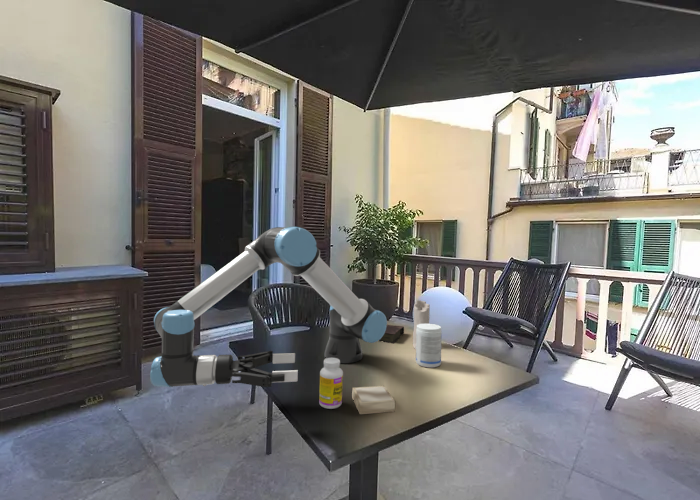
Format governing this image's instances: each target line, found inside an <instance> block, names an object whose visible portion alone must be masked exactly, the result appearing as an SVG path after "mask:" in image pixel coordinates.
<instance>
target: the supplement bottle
mask: <svg viewBox="0 0 700 500" xmlns="http://www.w3.org/2000/svg"><path fill="white" fill-rule="evenodd" d="M340 365H341V363H340V360H339V359H337V358H324V359H323V367H322V368H321V369H320V371H319V397H318V399H319V400H318V403H319V405H320V406H321V407H322V408H324V409H329V410H332V409H338V408H339V407H341V406H342V403H343V382H344V379H343V378H344V371H343V369H342V368H340Z"/></svg>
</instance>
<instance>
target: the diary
mask: <svg viewBox="0 0 700 500" xmlns="http://www.w3.org/2000/svg"><path fill="white" fill-rule="evenodd" d="M386 326H387V327H386V331H385V333H384V335H383V336H382V338H381V339H380V340H379V341H378V342H381V341H383V342H382V343H387V344H395V343H397V341H399V339H400V337H401V336H402V335H404V334H405V327H404V326H403V325H391V324H387V325H386Z"/></svg>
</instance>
